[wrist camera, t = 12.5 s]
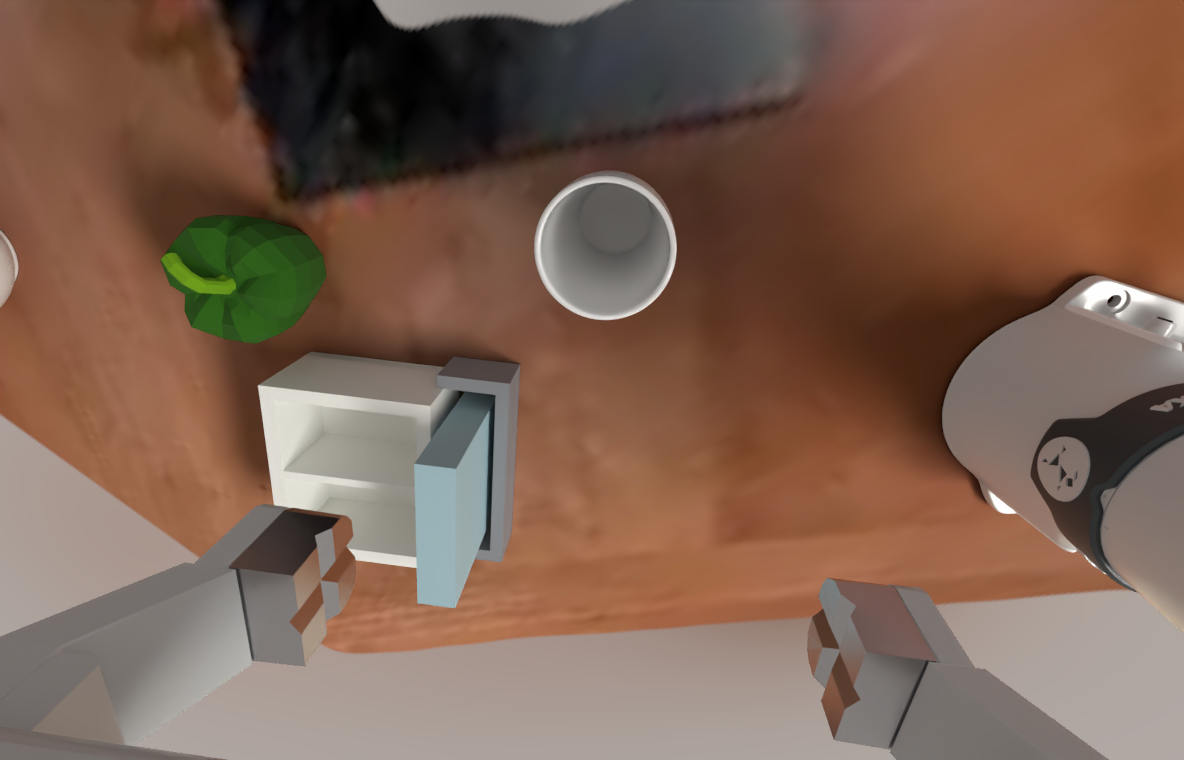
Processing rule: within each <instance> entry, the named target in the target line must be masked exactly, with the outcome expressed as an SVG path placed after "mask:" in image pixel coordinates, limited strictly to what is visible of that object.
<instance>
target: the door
mask: <svg viewBox="0 0 1184 760" xmlns="http://www.w3.org/2000/svg"><path fill="white" fill-rule="evenodd" d="M495 397H496V395H492V394H484V393H475V392H467V391H465V392H464V394H463V395H462V397H461V398H460V399H459V401H458V402H457V404H456V405H455V406H454V408H453V409H452V411H451V412H450V414H449V415H448V416H447V418H446V419H445V421H444V422H443V424H442V425H441V426H440V428H439V429H438V431H437V432H436V433H435V435H434V436H433V438H432V439H431V441H430V442H429V443H428V445H427V446H426V448H425V449H424V451H423V452H422V453H421V455H420V456H419V458H418V459H417V460H416V462H415V463H414V478H415V518H416V558H417V598H418V603H420V604H428V605H435V606H443V607H450V608H455V607H456V605H457V602H458V600H459V597H460V595H461V592H462V590H463V587H464V585H465V582H466V580H467V577H468V575H469V572H470V570H471V567H472V565H473V562H474V559H475V557H476V554H477V552H478V549H479V547H480V544H481V542H482V539H483V537H484V534H485V532H486V529H487V527H488V524H489V522H490V519H491V511H492V482H493V454H494V425H495Z"/></svg>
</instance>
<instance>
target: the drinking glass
mask: <svg viewBox="0 0 1184 760" xmlns="http://www.w3.org/2000/svg"><path fill="white" fill-rule="evenodd" d="M676 253H677V244H676V232H675V227H674V223H673V219H672V216H671V214H670V211H669V209H668V207H667V205H666V203H665V202H664V200H663V199H662V197H661V196H660V195H659V194H658V192H657V191H656V190H655V189H654V188H653V187H652V186H650V185H649V184H648V183H647V182H645V181H644V180H642V179H640V178H638V177H637V176H634V175H632V174H629V173H626V172H621V171H613V170H605V171H597V172H593V173H589V174H586V175H584V176H581V177H579V178H577V179H575V180H574V181H572V182H571V183H569V184H568V185H566V186H565V187H564V188H563V189H562V190H561V191H560V192H558V193H557V194H556V196H555V197H554V198H553V199H552V200H551V201H550V203H549V204H548V205H547V207H546V208H545V210H544V212H543V213H542V215H541V218H540V220H539V222H538V225H537V229H536V233H535V240H534V256H535V262H536V266H537V270H538V273H539V275H540V278H541V280H542V282H543V284H544V285H545V287H546V288H547V290H548V291H549V293H550V294H551V295H552V296H553V297H554V298H555V299H556V300H557V301H558V302H559V303H560V304H561V305H563V306H564V307H565V308H567V309H568V310H570V311H572V312H574V313H576V314H578V315H581V316H583V317H587V318H591V319H596V320H614V319H620V318H624V317H628V316H631V315H633V314H635V313H637V312H639V311H641V310H643V309H644V308H646V307H647V306H648V305H650V304H651V303H652V302H653V301H654V300H655V299H656V298H657V297H658V296H659V295H660V294H661V293H662V291H663V290H664V288H665V287H666V285H667V283H668V282H669V280H670V277H671V275H672V272H673V269H674V266H675V261H676Z"/></svg>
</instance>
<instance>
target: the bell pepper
mask: <svg viewBox="0 0 1184 760" xmlns="http://www.w3.org/2000/svg"><path fill="white" fill-rule="evenodd" d="M160 261H161V263H162V266H163V268H164V271H165V273H166V276H167V278H168V281H169V283H170V285H171V286H172V287H174V288H176V289H177V290H179V291H180V292H182V293H184V294H185V313H186V315H187V318H188V320H189V322H190V324H191V327H193V328H196V329H199V330H201V331H204V332H207V333H210V334H213V335H216V336H218V337H221V338H225V339H230V340H235V341H240V342H247V343H259V342H261V341H264V340H266V339H269V338H271V337H273V336H276V335H278V334H280V333H282V332H283V331H285V330H287V329H289V328H290V327H292V326H293V325H294V324H295V323H296V322H297V321H298V320H299V318H300V317H301V316H302V315H303V314H304V312H305V311H306V309H307V308H308V307H309V305H310V302H311V301H312V300H313V299H314V297H315V296H316V294H317V293H318V291H319V290H320V288H321V286H322V284H323V282H324V280H325V278H326V270H325V265H324V259H323V255H322V254H321V252H320V251H319V250H318V248H317V247H316V245H315V244H314V243H313V241H312V240H311V239H310V237H309V236H308V235H306V234H304V233H302V232H300V231H298V230H296V229H294V228H292V227H289V226H284V225H278V224H277V223H275V222H273V221H269V220H265V219H261V218H254V217H248V216H229V215H215V216H208V217H201V218H196V219H195V220H194V221H193V222H192V223H191V224H190V225H188V226H187V227H186V228H185V229H184V230H183V231H182V232H181V234H180V235H179V236H178V237H177V239H176V240H175V241H174V243H173V244H172V245H171V247H170V248H169V250H168V251H167V252H166V254H165V255H164V256H163V257H162V258H161V260H160Z"/></svg>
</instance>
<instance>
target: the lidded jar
mask: <svg viewBox="0 0 1184 760" xmlns="http://www.w3.org/2000/svg"><path fill="white" fill-rule="evenodd" d="M18 272H19V262H18V258H17V255H16V252H15V249H14V247H13V245H12V244H11V242H10V241H9V239H8V238H7V236H6V235H5V234H4V233H3V232H2V231H1V230H0V308H1V307H2V306H3V305H4V303H5V302H6V300H7V299H8V297H9V296H10V294H11V291H12V288H13V285H14V283H15V281H16V279H17V276H18Z"/></svg>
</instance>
